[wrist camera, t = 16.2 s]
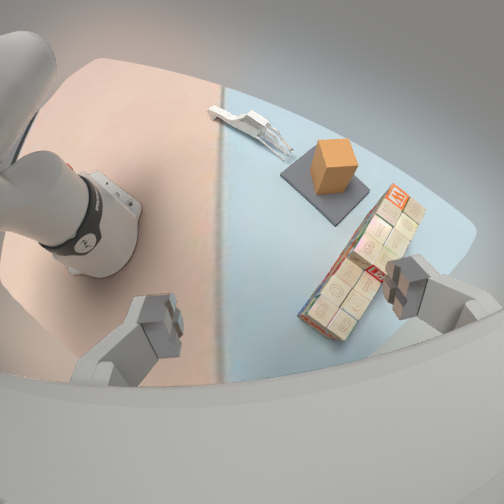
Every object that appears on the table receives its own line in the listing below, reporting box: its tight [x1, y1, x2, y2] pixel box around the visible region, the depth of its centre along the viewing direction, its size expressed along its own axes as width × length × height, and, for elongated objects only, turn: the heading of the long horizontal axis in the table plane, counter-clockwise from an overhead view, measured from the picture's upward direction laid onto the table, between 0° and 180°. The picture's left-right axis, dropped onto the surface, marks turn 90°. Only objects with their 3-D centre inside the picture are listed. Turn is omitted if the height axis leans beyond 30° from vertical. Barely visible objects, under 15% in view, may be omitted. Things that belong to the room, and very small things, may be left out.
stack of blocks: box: [297, 183, 426, 341], centre depth 38 cm, size 21×6×12 cm, turn 142°
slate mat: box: [280, 145, 370, 226], centre depth 48 cm, size 13×10×1 cm
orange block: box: [310, 139, 358, 195], centre depth 43 cm, size 5×5×9 cm
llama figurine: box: [207, 105, 294, 161], centre depth 49 cm, size 2×11×18 cm
